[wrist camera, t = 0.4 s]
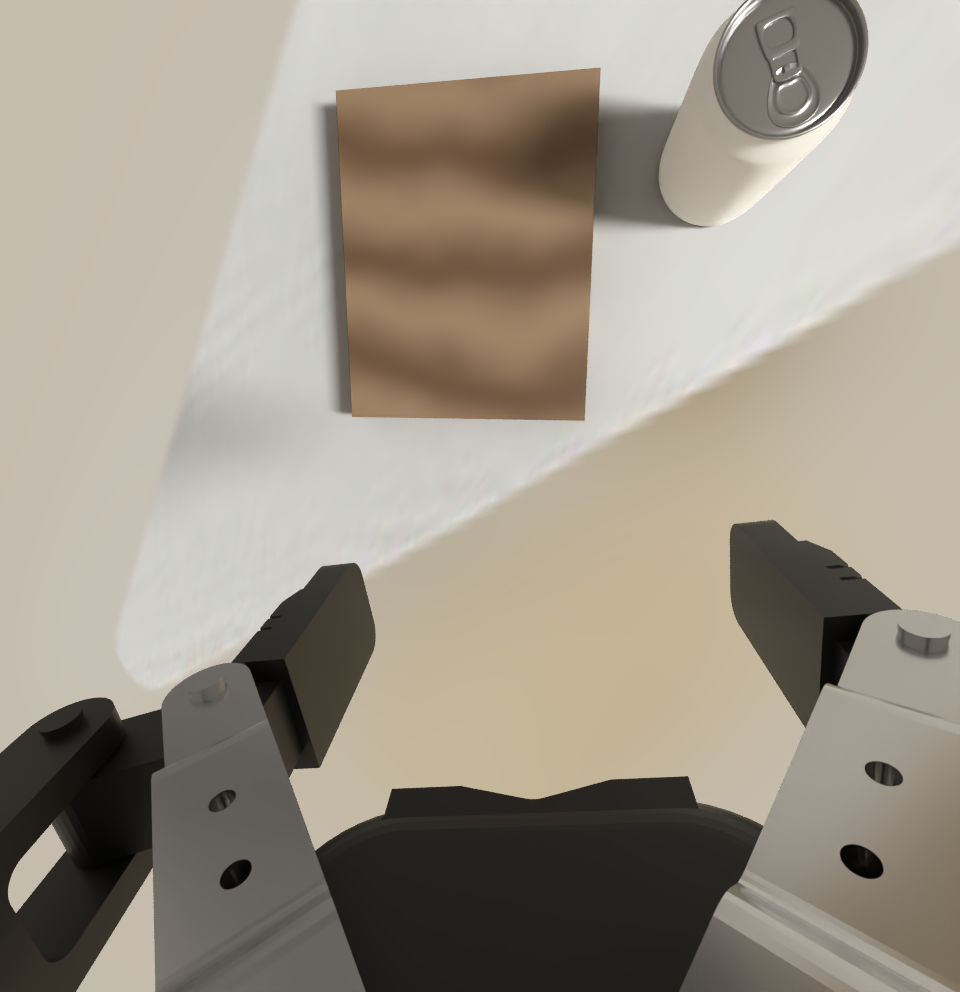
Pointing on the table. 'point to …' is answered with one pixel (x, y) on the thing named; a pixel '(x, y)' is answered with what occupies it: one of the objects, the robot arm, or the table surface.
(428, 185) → the serving board
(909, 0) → the table surface
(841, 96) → the can
